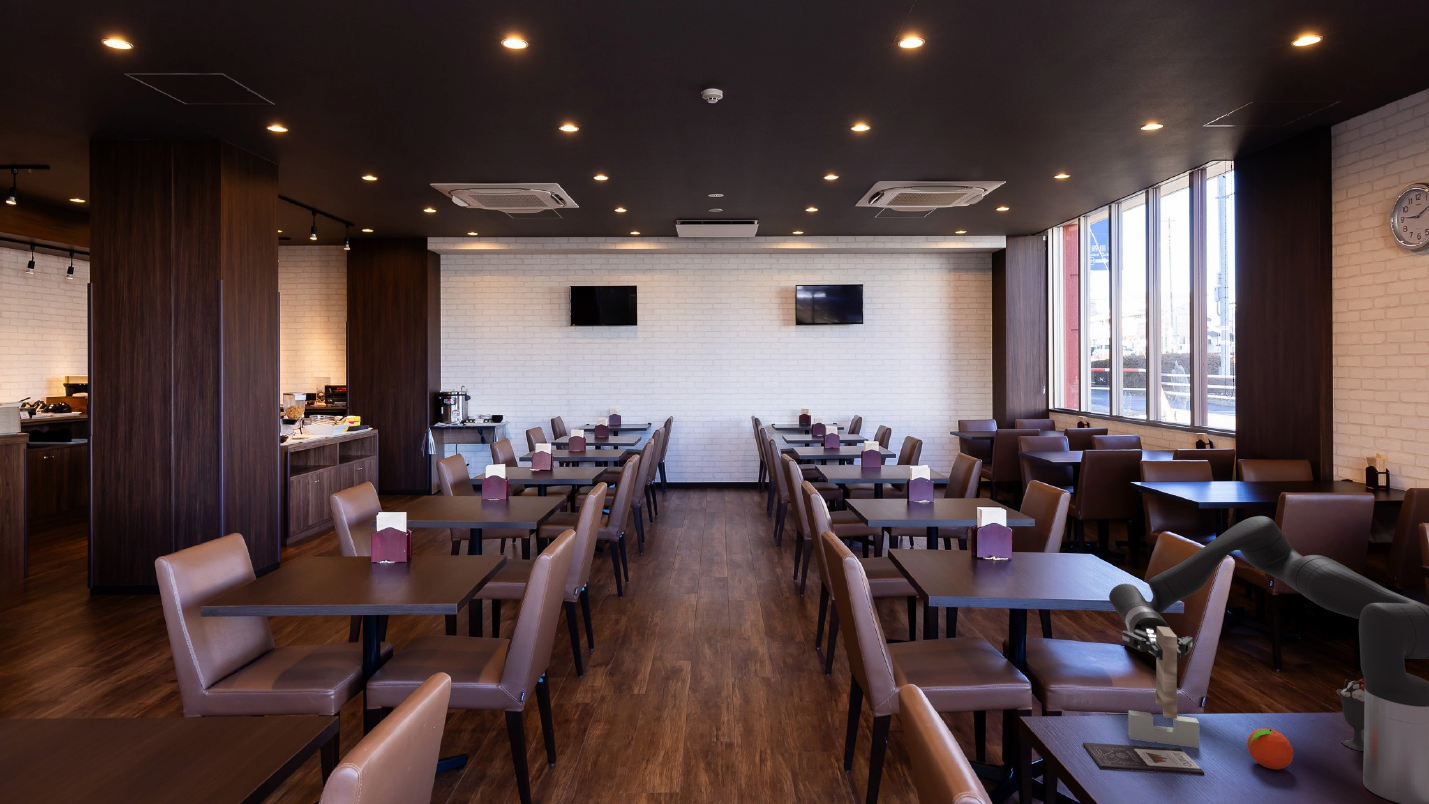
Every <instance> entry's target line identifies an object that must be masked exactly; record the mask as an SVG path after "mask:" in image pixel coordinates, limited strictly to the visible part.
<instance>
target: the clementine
mask: <svg viewBox="0 0 1429 804" xmlns="http://www.w3.org/2000/svg"><path fill="white" fill-rule="evenodd" d="M1246 746H1247V751H1248V752H1249V754H1250V757H1252V759H1253V760H1254V761H1255V762H1256V763H1258V764H1259V765H1260V766H1262V767H1265V768H1267V769H1270V770H1281V769H1284V768H1285V769H1286V767H1288V766H1289V765H1290V764H1291V763H1292V761H1293V758H1294V749H1293V747H1292V744H1291V742H1290V741H1289V740H1288V739H1287V737H1286V736H1285V735H1283V734H1282V733H1280V732H1279V731H1277V730H1275V729H1271V728H1265V727H1263V728H1259V729H1255V730H1254V731H1252V732H1251V733H1250V734H1249V735H1248V737H1247V741H1246Z"/></svg>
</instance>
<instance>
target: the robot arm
mask: <svg viewBox="0 0 1429 804" xmlns="http://www.w3.org/2000/svg"><path fill="white" fill-rule="evenodd" d="M1237 550H1239V551H1240V553H1241V555H1243V557H1244V559H1245V560H1246V562H1247V563H1249V565H1251V566H1252V567H1253V568H1254V569H1256V570H1258V571H1261V572H1263V573H1265V574H1267V575H1270V576H1271V577H1273V578H1276V579H1278V580H1280V581H1281V582H1283V583H1285V584H1286V585H1287V586H1288V587H1291V589H1293V590H1294V591H1296V592H1298V593H1299V594H1300V595H1302V596H1303V597H1305V598H1306V599H1308V600H1309V601H1311V602H1313V603H1314V604H1316V605H1318V606H1319V607H1321V608H1324V609H1325V610H1328V611H1331V612H1334V613H1336V614H1340V615H1343V616H1347V617H1350V618H1354V619H1357V620H1358V636H1359V637H1358V639H1359V640H1358V641H1359V656H1360V661H1359V662H1360V669H1361V672H1362V675H1363V678H1364V681H1365V708H1364V729H1363V742H1364V752H1363V766H1362V768H1363V770H1362V776H1363V777H1362V784H1363V786H1364V787H1365V788H1366V789H1367V790H1368V791H1370V792H1371V793H1373V794H1375V795H1376V796H1378V797H1380V798H1383V799H1385V800H1388V801H1392V802H1394V803H1398V804H1429V681H1428V680H1426V679H1424V678H1423V677H1419V676H1418V675H1417V676H1416V675H1413V674H1411V673H1408V672H1407V671H1406V666H1405V659H1413V660H1429V605H1427V604H1424V603H1422V602H1420V601H1418V600H1414V599H1412V598H1409V597H1407V596H1404V595H1402V594H1399V593H1397V592H1394V591H1393V590H1389V589H1388V588H1386V587H1383V586H1382V585H1380V584H1378V583H1377V582H1375V581H1373V580H1371V579H1369V578H1367V577H1366V576H1364V575H1361V574H1359V573H1358V572H1355V571H1353V570H1352V569H1351V568H1350V567H1347V566H1345V565H1344V564H1342V563H1340V562H1338V561H1336V560H1334V559H1332V558H1329V557H1328V556H1324V555H1320V554H1309V555H1305V556H1303V555H1302V554H1300V553H1299V552H1297V550H1295V549H1294V548H1293V547H1292V544H1290V542H1289V541H1288V540H1287V538H1286V536H1285V535H1284V533H1283V532H1282V531H1281V529H1280V528H1279V526H1278V525H1277V523H1276V522H1275V521H1274V520H1273V519H1272V518H1271V517H1269V516H1264V515H1258V516H1252V517H1249V518H1246V519H1244V520H1242V521H1240V522H1238V523H1236V524H1234V525H1233V526H1232V527H1230V528H1229V529H1227V530H1226V531H1225V532H1223V533H1222V534H1220V535H1219V536H1217V537H1216V538H1214V539H1213V540H1211V542H1209V543H1208V544H1206V545H1204V547H1202V548H1201V549H1199V550H1198V551H1197V552H1195V553H1193V554H1192V555H1191V556H1189V557H1188V558H1186V559H1185V560H1183V561H1182V562H1179V563H1178V564H1176V565H1175V566H1172V567H1170V568H1169V569H1168V568H1167V569H1166V570H1165V571H1162V572H1161V573H1158V574H1157V575H1155V576H1152V577H1151V578H1149V580H1148V586H1149V589H1150V591H1151V593H1152V597H1151V598H1152V599H1151V601H1149V603H1148V601H1147V600H1146V599H1145V597H1144V595H1143V594H1142V593H1141V591H1140V590H1139V589H1138V588H1137V586H1135V585H1133V584H1131V583H1121V584H1118V585H1115V586H1114V587H1113V588H1112V589H1111V591H1110V592H1109V595H1108V599H1109V602H1110V604H1111V605H1112V607H1113V608H1114V610H1115V611H1116V613H1117V614H1118V615H1119V617H1120V618H1121V620H1122V621H1123V622H1124V625H1125V626H1126V629H1127V630H1122V643H1123V644H1124V645H1126V646H1128V647H1130V648H1133V650H1137V651H1139V652H1141V653H1147V652H1149V653H1150V654H1152V655H1153V656H1154V657H1155V658H1156V657H1158V659H1159V660H1162V659H1163V651H1162V648H1161V647H1160V646H1159V644H1158V643H1157V626H1160V627H1169V628H1170V629H1171V630H1172V628H1171V626H1170V625H1169V624H1168V622H1166V621H1165V619H1164V618H1163V617H1162V616H1161V614H1162V613H1163V612H1165V611H1166V610H1167V609H1168V608H1170V607H1171V606H1173V604H1175V603H1177V602H1179V601H1182V600H1184V599H1186V598H1188V597H1190V596H1191V595H1194V594H1195V593H1197V592H1199V591H1200V590H1202V589H1203V588H1204V586H1205V585H1206V584H1207V582H1208V581H1209V579H1211V577H1212V575H1213V574H1214V572H1215V570H1216V569H1217V568H1218V566H1219V565H1220V564H1221V562H1222V561H1223V560H1224V559H1225V558H1226V557H1227V556H1229V555H1230V554H1231V553H1233V552H1234V551H1237ZM1174 634H1175V633H1174ZM1175 635H1176V636H1177V663H1178V662H1179V660H1181V657H1186V655H1188V654H1189V653H1190V652H1191V651H1193V637H1191V636H1185V637H1181V638H1180V637H1179V635H1177V634H1175Z"/></svg>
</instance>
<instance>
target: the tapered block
mask: <svg viewBox="0 0 1429 804" xmlns="http://www.w3.org/2000/svg"><path fill="white" fill-rule="evenodd" d="M1169 627H1170V626H1169ZM1169 627H1160V626H1157V643H1158V644H1159V646H1160V647H1161V648H1162V651H1163V659H1162V660H1159V659H1158V657H1155V658H1156V661H1155V662H1156V666H1155V668H1156V670H1155V671H1156V675H1155V676H1156V678H1155V679H1156V682H1155V683H1156V685H1155V686H1156V687H1155V697H1154V699H1155V704H1156V705H1160V706H1162V716H1163V718H1170V719H1173V718H1175V719H1177V716H1178V705H1177V695H1178V694H1177V691H1178V690H1177V688H1178V687H1177V685H1178V683H1177V682H1178V679H1177V678H1178V662H1177V636H1178V635H1177V634H1176V635H1177V636H1176V635H1175V632H1173V630H1172V628H1171V627H1170V628H1171V629H1170V628H1169Z"/></svg>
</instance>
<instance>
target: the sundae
mask: <svg viewBox="0 0 1429 804" xmlns="http://www.w3.org/2000/svg"><path fill="white" fill-rule="evenodd" d="M1336 694H1337V695H1338V697H1339V698H1340V700H1341V706H1342V712H1343V717H1344V720H1345V722H1346V723H1347V724H1348V725H1349V726H1350V727H1351V728H1353V737H1352V738H1351V740H1345V741H1342V740H1341V741H1342V742H1344V743H1343V744H1346V746H1348V747H1349V748H1348V747H1347V748H1348V749H1350V748H1354V749H1355V750H1354V751H1357V750H1358V751H1357V752H1361V751H1364V739H1363V737H1362V736H1363V735H1362V733H1363V732H1362V731H1364V708H1365V681H1364V677H1363V678H1360V679H1359V680H1353V681H1352V680H1349V679H1348V678H1347V679H1346V678H1345V680H1344V685H1343V689H1339V688H1337V690H1336ZM1343 744H1342V745H1343ZM1346 746H1345V747H1346Z"/></svg>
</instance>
